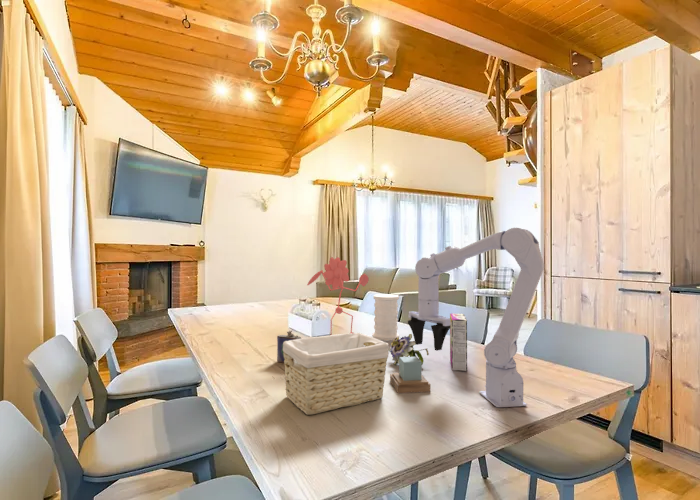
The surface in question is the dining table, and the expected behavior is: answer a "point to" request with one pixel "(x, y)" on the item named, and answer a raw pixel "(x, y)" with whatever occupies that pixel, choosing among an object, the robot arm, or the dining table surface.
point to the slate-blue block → (410, 368)
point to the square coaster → (409, 384)
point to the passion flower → (404, 349)
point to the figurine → (338, 279)
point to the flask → (280, 345)
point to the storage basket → (334, 371)
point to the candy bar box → (458, 342)
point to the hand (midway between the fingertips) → (428, 346)
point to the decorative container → (385, 317)
